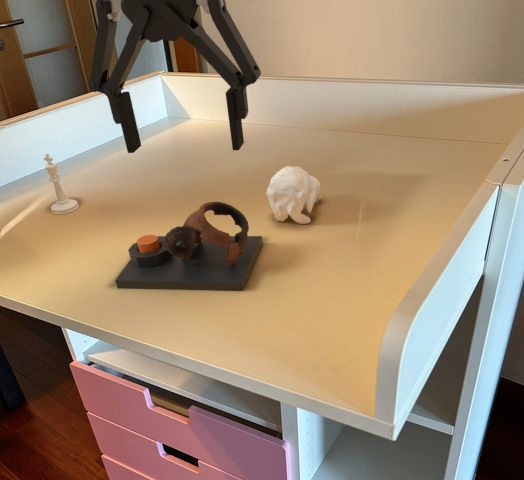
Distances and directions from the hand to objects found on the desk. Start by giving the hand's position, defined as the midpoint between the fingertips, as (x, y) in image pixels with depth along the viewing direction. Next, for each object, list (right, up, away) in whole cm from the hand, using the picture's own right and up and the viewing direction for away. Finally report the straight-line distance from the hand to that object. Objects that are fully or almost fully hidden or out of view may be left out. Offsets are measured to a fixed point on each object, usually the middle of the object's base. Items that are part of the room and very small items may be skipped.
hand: (185, 148), depth 70 cm
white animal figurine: (+16, -3, +21) cm, 26 cm away
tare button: (-7, -11, +11) cm, 16 cm away
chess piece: (-27, +1, +33) cm, 43 cm away
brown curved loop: (+2, -12, +10) cm, 16 cm away
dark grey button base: (0, -13, +11) cm, 17 cm away
